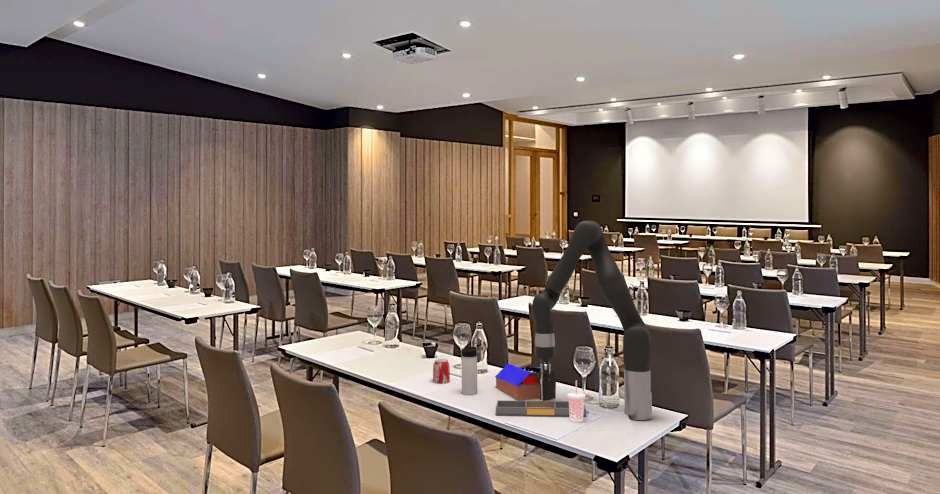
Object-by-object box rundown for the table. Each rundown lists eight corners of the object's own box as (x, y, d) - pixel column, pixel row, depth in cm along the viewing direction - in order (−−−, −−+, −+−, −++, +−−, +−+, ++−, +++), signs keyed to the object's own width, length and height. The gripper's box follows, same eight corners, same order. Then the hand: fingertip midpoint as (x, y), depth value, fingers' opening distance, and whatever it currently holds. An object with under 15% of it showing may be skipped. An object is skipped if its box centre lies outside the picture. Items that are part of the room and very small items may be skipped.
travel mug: (481, 397, 263) (480, 347, 262) (469, 400, 258) (469, 349, 258) (469, 394, 267) (469, 345, 267) (458, 397, 262) (458, 347, 262)
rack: (583, 409, 242) (583, 401, 242) (586, 417, 232) (585, 408, 232) (497, 408, 245) (497, 400, 245) (495, 415, 235) (495, 407, 235)
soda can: (449, 390, 275) (449, 361, 275) (432, 390, 275) (432, 362, 275) (450, 386, 282) (449, 358, 282) (433, 386, 282) (433, 358, 282)
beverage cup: (576, 423, 224) (576, 382, 224) (563, 419, 229) (563, 379, 229) (589, 420, 227) (588, 380, 227) (576, 416, 232) (576, 377, 232)
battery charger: (549, 397, 254) (549, 368, 254) (556, 399, 251) (556, 369, 251) (536, 399, 250) (536, 370, 250) (543, 401, 247) (543, 371, 247)
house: (520, 389, 276) (520, 362, 276) (544, 400, 258) (544, 370, 257) (495, 392, 271) (494, 364, 271) (517, 403, 253) (517, 373, 253)
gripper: (555, 347, 243) (556, 392, 243) (554, 341, 257) (555, 384, 257) (535, 347, 243) (536, 392, 244) (535, 342, 258) (535, 384, 258)
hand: (545, 388), depth 250 cm, fingers closed on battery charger, 6 cm apart
